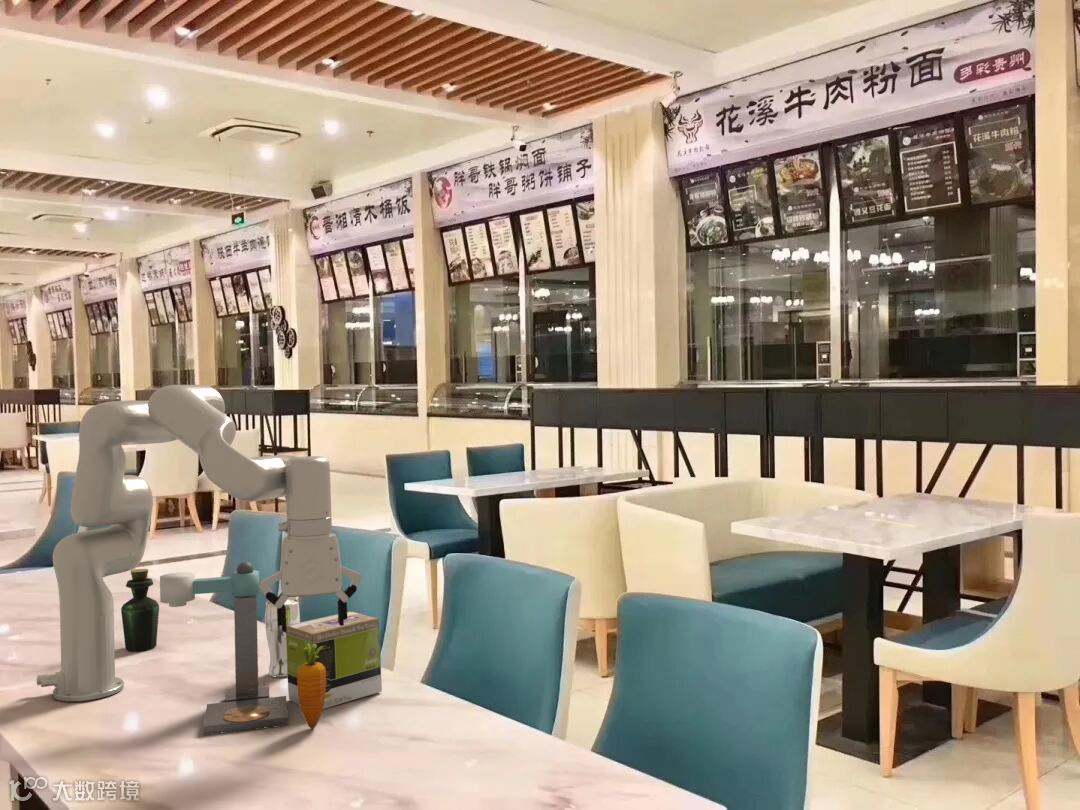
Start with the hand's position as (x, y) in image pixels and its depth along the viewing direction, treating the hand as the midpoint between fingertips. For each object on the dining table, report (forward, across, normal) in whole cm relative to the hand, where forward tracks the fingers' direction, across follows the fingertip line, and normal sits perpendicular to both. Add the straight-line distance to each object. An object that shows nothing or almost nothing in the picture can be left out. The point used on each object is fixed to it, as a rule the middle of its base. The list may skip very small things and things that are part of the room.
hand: (312, 626), depth 161 cm
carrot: (+18, -1, 0) cm, 18 cm away
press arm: (-2, -18, +19) cm, 26 cm away
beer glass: (+18, -5, +36) cm, 40 cm away
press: (+18, -12, +13) cm, 25 cm away
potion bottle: (+17, -36, +66) cm, 77 cm away
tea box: (+18, +4, +17) cm, 25 cm away
